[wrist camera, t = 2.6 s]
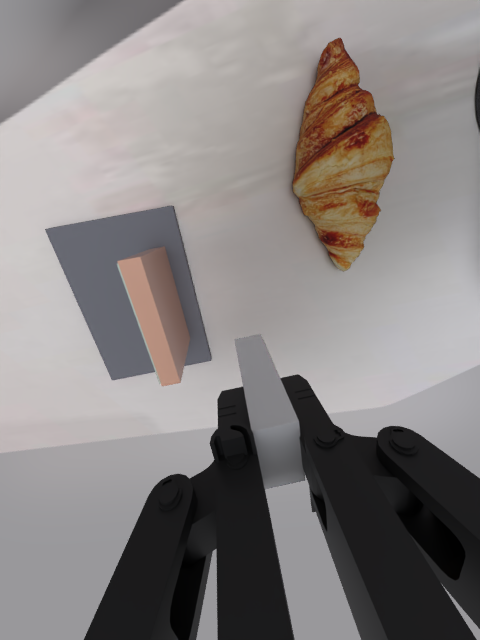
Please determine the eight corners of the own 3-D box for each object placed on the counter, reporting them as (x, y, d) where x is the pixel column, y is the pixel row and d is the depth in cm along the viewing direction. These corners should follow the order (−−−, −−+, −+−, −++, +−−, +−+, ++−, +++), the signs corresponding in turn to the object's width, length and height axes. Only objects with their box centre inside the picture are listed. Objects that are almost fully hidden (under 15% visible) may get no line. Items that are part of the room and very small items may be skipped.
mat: (173, 206, 28) (172, 205, 27) (211, 357, 35) (211, 360, 34) (49, 229, 27) (44, 229, 27) (114, 377, 35) (112, 380, 34)
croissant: (346, 258, 35) (407, 258, 29) (297, 282, 31) (355, 289, 25) (331, 68, 27) (412, 9, 21) (262, 66, 23) (336, -10, 16)
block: (164, 246, 28) (140, 256, 19) (190, 338, 33) (180, 382, 24) (147, 249, 28) (114, 261, 19) (175, 341, 33) (159, 386, 24)
